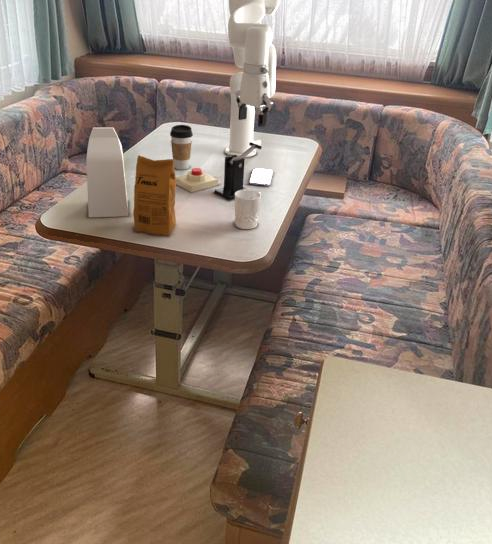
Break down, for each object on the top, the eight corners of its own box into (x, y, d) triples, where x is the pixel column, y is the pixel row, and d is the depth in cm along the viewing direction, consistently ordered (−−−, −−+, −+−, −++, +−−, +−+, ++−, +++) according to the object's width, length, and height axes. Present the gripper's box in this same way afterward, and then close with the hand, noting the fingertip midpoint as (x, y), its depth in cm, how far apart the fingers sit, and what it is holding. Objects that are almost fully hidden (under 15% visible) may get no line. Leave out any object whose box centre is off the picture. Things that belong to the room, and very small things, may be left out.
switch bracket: (236, 186, 203) (238, 151, 196) (251, 194, 197) (254, 158, 191) (214, 193, 197) (215, 157, 191) (229, 200, 192) (231, 163, 185)
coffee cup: (193, 163, 221) (194, 125, 214) (190, 171, 214) (191, 131, 207) (172, 162, 222) (172, 123, 214) (168, 170, 215) (168, 130, 207)
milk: (88, 217, 177) (81, 134, 164) (90, 202, 186) (83, 122, 173) (128, 216, 178) (124, 133, 165) (127, 201, 188) (123, 122, 175)
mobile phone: (248, 181, 204) (253, 167, 217) (248, 184, 205) (253, 170, 217) (269, 183, 203) (273, 169, 216) (269, 186, 204) (273, 171, 217)
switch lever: (252, 145, 197) (250, 139, 196) (262, 149, 194) (260, 143, 192) (227, 165, 194) (225, 160, 192) (237, 170, 190) (235, 164, 189)
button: (197, 171, 204) (197, 167, 203) (203, 174, 202) (203, 170, 201) (189, 173, 202) (189, 169, 201) (195, 177, 200) (195, 172, 199)
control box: (200, 176, 210) (201, 165, 208) (218, 184, 204) (218, 174, 202) (174, 183, 203) (174, 172, 201) (191, 192, 197) (191, 181, 195)
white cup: (231, 219, 179) (233, 189, 174) (256, 219, 180) (259, 189, 175) (234, 230, 172) (236, 199, 167) (260, 230, 173) (263, 199, 168)
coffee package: (141, 218, 177) (139, 149, 166) (180, 224, 175) (180, 154, 164) (129, 232, 169) (125, 160, 158) (169, 238, 166) (168, 165, 155)
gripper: (283, 72, 180) (278, 127, 188) (246, 63, 191) (243, 115, 200) (265, 75, 175) (261, 130, 184) (229, 65, 187) (226, 118, 195)
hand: (252, 122), depth 192 cm, fingers open, 9 cm apart
